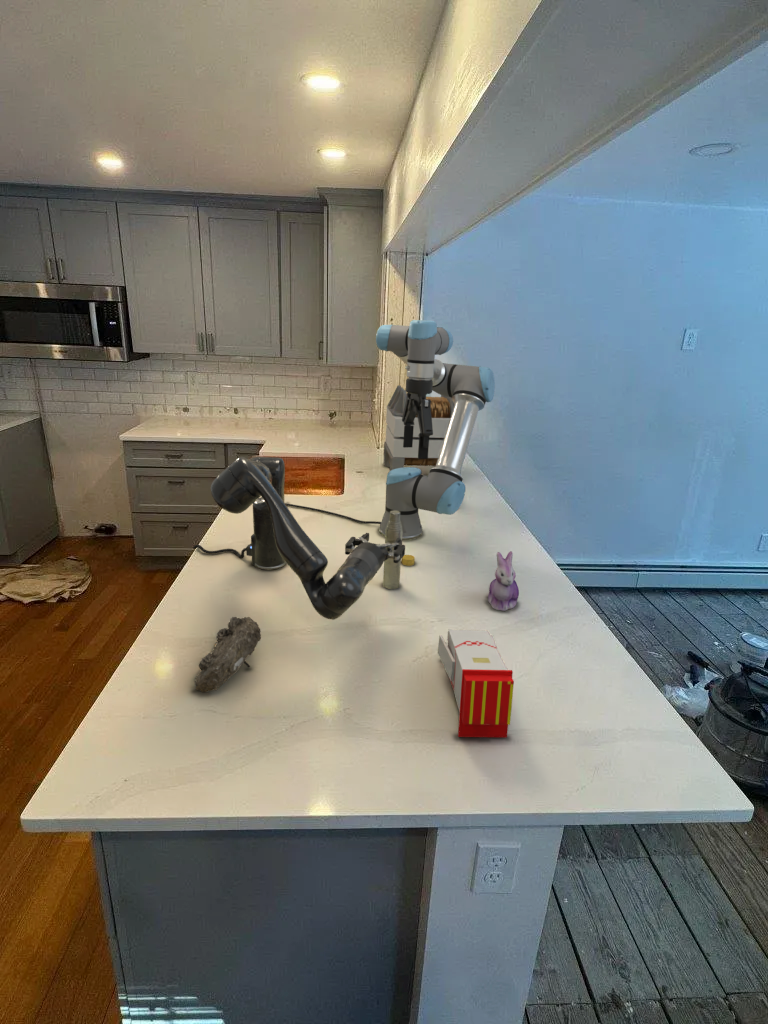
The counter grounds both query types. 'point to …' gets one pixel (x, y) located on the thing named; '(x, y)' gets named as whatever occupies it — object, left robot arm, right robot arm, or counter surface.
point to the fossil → (228, 653)
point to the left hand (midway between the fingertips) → (383, 538)
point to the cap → (408, 560)
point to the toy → (478, 682)
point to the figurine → (503, 584)
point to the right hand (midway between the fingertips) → (414, 452)
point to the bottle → (392, 533)
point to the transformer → (414, 431)
